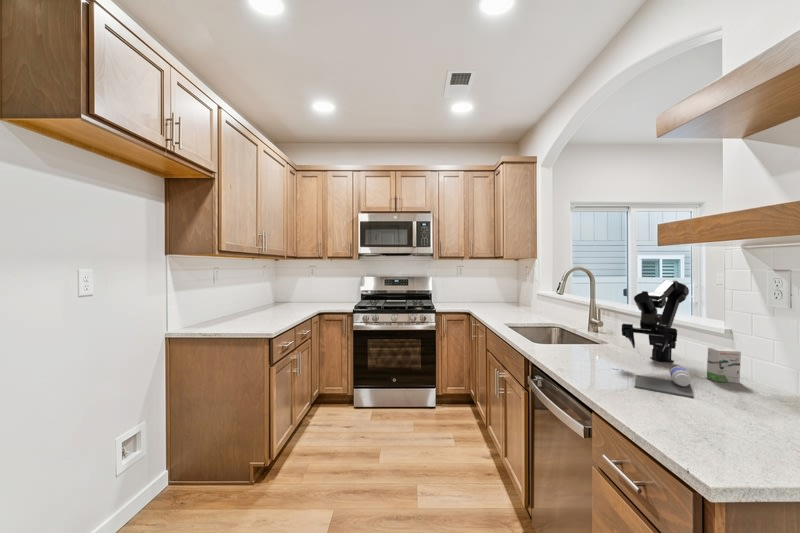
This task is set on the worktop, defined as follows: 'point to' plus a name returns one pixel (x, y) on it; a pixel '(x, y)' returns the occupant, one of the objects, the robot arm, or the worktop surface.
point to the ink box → (723, 364)
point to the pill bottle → (680, 376)
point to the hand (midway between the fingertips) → (647, 349)
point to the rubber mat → (663, 386)
